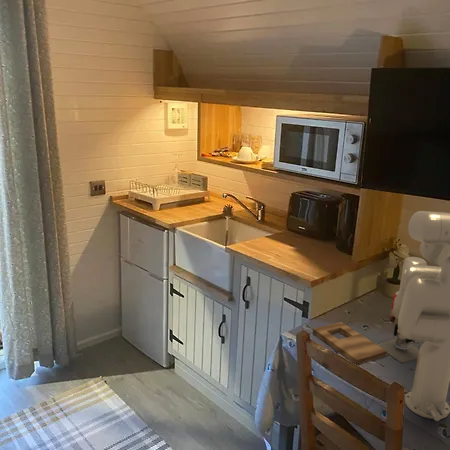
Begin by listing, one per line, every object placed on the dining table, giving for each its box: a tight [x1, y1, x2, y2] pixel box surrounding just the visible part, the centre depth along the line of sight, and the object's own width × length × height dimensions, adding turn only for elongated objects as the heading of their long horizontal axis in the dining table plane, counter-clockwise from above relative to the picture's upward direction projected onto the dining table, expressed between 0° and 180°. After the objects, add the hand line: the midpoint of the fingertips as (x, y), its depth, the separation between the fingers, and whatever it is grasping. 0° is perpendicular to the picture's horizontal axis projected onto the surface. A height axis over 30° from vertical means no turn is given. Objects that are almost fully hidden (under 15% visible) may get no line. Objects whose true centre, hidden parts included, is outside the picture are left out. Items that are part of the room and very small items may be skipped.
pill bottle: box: [395, 330, 411, 349], centre depth 175 cm, size 5×5×8 cm
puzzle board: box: [312, 321, 387, 366], centre depth 179 cm, size 24×14×2 cm, turn 28°
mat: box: [375, 338, 420, 364], centre depth 177 cm, size 13×13×1 cm
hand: (403, 338), depth 175 cm, fingers closed on pill bottle, 4 cm apart
